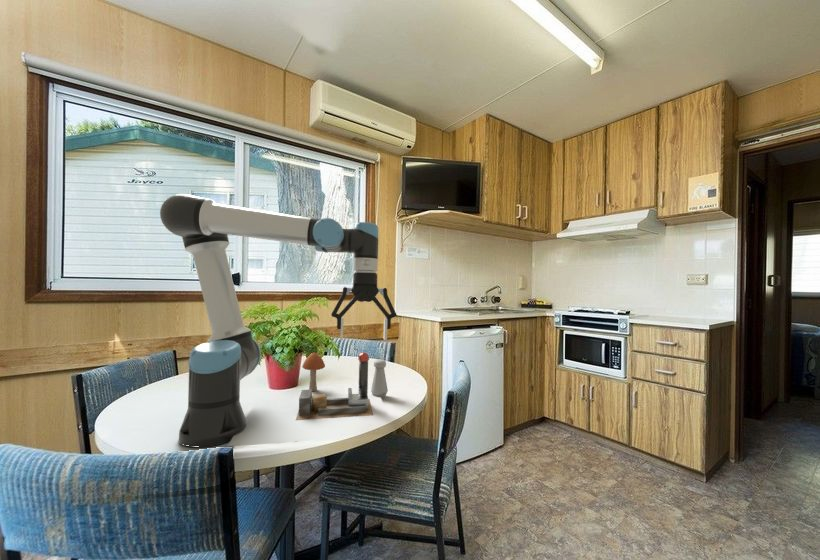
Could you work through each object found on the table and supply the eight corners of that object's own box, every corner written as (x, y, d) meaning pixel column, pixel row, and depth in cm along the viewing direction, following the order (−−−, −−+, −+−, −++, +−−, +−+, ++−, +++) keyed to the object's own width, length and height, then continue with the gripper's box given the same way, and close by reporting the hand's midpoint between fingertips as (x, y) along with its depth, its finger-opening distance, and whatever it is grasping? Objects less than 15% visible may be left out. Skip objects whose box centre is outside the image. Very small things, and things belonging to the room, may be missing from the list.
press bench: (295, 424, 95) (296, 402, 95) (300, 406, 109) (301, 387, 109) (373, 419, 100) (374, 398, 100) (369, 402, 114) (369, 384, 114)
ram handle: (348, 410, 102) (349, 354, 103) (347, 403, 108) (349, 351, 108) (369, 409, 104) (370, 354, 104) (367, 402, 109) (368, 350, 109)
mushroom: (316, 398, 116) (317, 355, 116) (296, 395, 119) (297, 353, 119) (328, 392, 124) (329, 350, 124) (310, 389, 126) (311, 349, 126)
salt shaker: (384, 400, 116) (385, 362, 116) (368, 399, 117) (369, 361, 117) (389, 395, 122) (389, 358, 122) (374, 393, 123) (374, 357, 123)
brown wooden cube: (311, 412, 101) (311, 399, 101) (312, 407, 105) (312, 394, 105) (326, 411, 102) (326, 398, 102) (326, 406, 106) (326, 393, 106)
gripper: (324, 270, 100) (322, 342, 100) (406, 273, 106) (404, 341, 105) (325, 271, 108) (323, 337, 107) (402, 273, 113) (400, 337, 113)
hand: (363, 339), depth 106 cm, fingers open, 13 cm apart
